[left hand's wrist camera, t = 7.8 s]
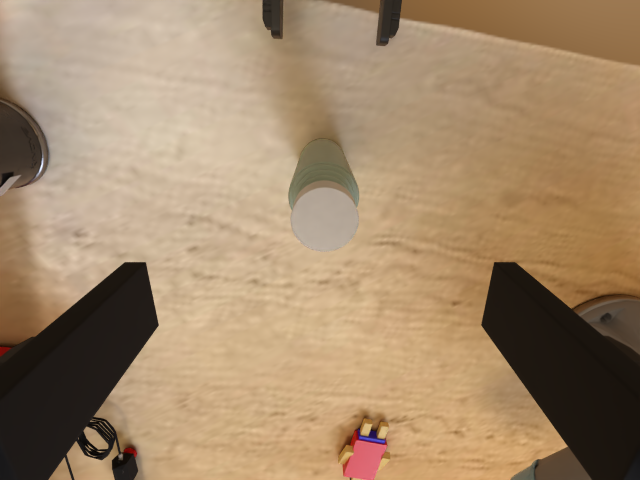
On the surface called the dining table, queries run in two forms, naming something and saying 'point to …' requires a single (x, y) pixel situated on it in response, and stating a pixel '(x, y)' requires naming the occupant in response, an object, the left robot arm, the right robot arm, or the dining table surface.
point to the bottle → (322, 169)
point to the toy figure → (365, 452)
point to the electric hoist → (121, 464)
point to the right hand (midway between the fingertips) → (330, 41)
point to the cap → (324, 216)
